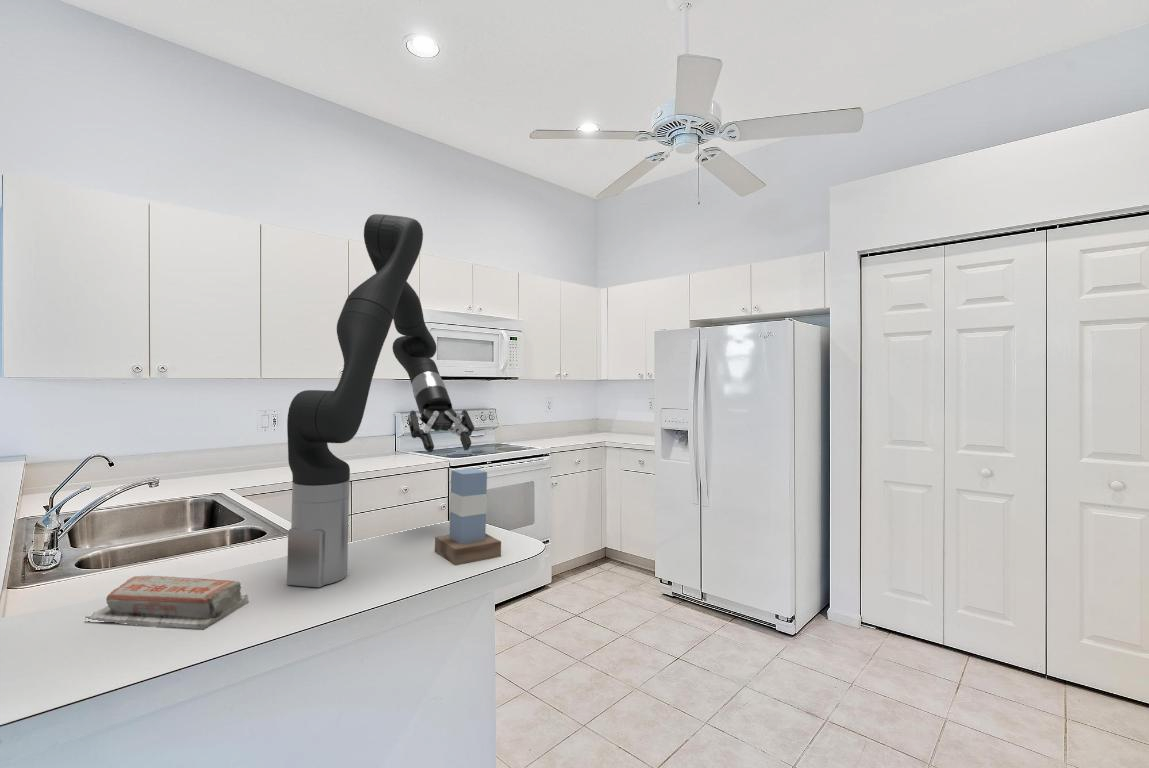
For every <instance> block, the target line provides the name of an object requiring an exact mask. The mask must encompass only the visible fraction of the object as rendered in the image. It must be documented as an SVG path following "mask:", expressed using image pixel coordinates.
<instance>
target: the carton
mask: <svg viewBox="0 0 1149 768" xmlns="http://www.w3.org/2000/svg"><path fill="white" fill-rule="evenodd" d="M487 485H488V472H487V471H486V470H481V469H478V468H476V467H475V468H473V467H471V468H462V469H461V468H460V469H452V470H450V494H449V511H450V512H449V533H448V535H449V538H451V539H453V540H454V541H456V542H458V543H460V544H466V543H471V542H477V541H483V540H485V533H486V531H487V530H486V525H487V524H486V523H487V505H488V504H487V503H488V502H487V501H488V500H487V499H488V494H487V491H488V486H487Z"/></svg>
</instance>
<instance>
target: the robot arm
mask: <svg viewBox="0 0 1149 768" xmlns="http://www.w3.org/2000/svg"><path fill="white" fill-rule="evenodd" d="M363 239H364V245H365V248H366V251H367V254H368V256H369V259H370V261H371V264H372V266H373V268H374V270H375V273H374V274H373V275H372V276H370V277H369V278H367V279H366V280H365V281H363V282H362V283H361V284H359V285H358V286H356V287H355V288H354V289H353V290H352V291H351V292H350V294H349V295H348V296H347V297H346V300H345V302H344V304H343V306H342V309H341V312H340V315H339V316H338V320H337V323H336V335H337V341H338V343H339V347H340V350H341V354H342V357H343V358H342V359H343V367H342V368H343V370H342V372H341V376H340V379H339V381H338V384H337V386H336V388H335V389H334V390H324V389H323V390H322V389H321V390H320V389H319V390H317V389H314V390H313V389H307V390H306V389H305V390H302V391H299V392H298V393H296V395H295V396H293V398H292V400H291V402H290V405H289V407H288V412H287V420H286V427H287V429H286V430H287V431H286V432H287V460H288V466H289V469H290V471H291V474H292V475H291V476H292V482H291V483H292V487H291V489H292V490H291V518H290V522H291V524H290V525H291V526H290V527H291V528H289V529H288V531H287V557H286V558H287V560H286V561H287V562H286V564H287V567H286V568H287V569H286V585H287V586H288V585H289V586H299V587H309V588H322V587H323V586H326V585H329V584H333V583H336V582H339V581H341V580H343V579H345V578H346V577H347V575H348V562H349V560H348V559H349V557H348V556H349V515H350V514H349V513H350V511H349V510H350V506H349V505H350V477H351V476H350V475H351V470H350V469H351V468H350V465H349V464H348V463H347V461H344V460H342V459H341V458H339V457H337V456H336V455H335V454H333V452H332V451H331V450H330V449H329V445H328V444H346V443H349V442H350V441H351V440H353V438H354V437H355V436H356V435H357V433H358V431H359V429H360V427H361V423H362V421H363V418H364V415H365V409H366V406H367V402H368V397H369V393H370V388H371V385H372V381H373V377H374V374H375V370H376V366H377V364H378V360H379V358H380V355H381V352H382V349H383V348H384V347H383V346H384V343H385V342H386V340H387V339H386V338H387V336H388V334H389V331H390V328H391V326H392V322H393V324H394V327H395V329H396V331H397V333H398V334H400V335H402V336H398V337H397V338H396V339H395V340H394V341H393V343H392V353H393V356H394V357H395V359H396V360H397V362H399V364H400V365H401V366H402V367H403V369H404V370H405V372H406V373H407V375H408V378H409V380H410V384H411V387H412V388H411V389H412V393H413V398H414V400H415V403H416V407H417V409H418V413H417V411H415V410H411V411H410V413H409V415H408V416H407V421H408V427H409V431H410V436H411V437H412V439H416V438H419V439H420V440H421V441H422V444H423V448H424V449H425V450H426V452H427V453H433V450H434V449H435V445H434V441H433V439H432V436H431V433H430V432H431V431H432V430H433V431H435V432H439V431H448V432H449V433H452V434H455V435H457V436H458V437H459V439H460V443H461V446H462V448H463V451H468V450H469V449H470V447H471V445H472V440H471V437H470V436H472V433H473V431H474V430H475V425H474V424H473V422H472V419H471V417H470V415H469V412H468V411H467V409H462V411H461V412H456V411H455V410H454V409H453V404H452V402H451V399H450V396H449V393H448V390H447V388H446V385H445V382H444V381H443V379H442V377H441V375H440V372H439V369H438V366H437V364H436V362H435V360H433V359H432V358H433V357H434V356H435V355H436V352H437V347H438V346H437V343H436V341H435V338H434V337H433V335H432V334H431V332H430V330H429V329H428V327H427V325H426V322H425V317H424V312H423V308H422V303H421V300H420V297H419V295H418V293H417V292H416V291H415V290H414V288H413V287H412V286H411V284H410V283H409V282H408V279H409V278H410V275H411V273H412V271H413V269H414V267H415V265H416V262H417V260H418V258H419V256H420V252H421V249H422V246H423V240H424V233H423V227H422V224H421V223H420V222H419V221H418V220H416V219H415V218H411V217H408V216H402V215H400V216H399V215H392V214H382V213H381V214H380V213H377V214H376V213H374V214H371V215H369V217H368V218H367V219H366V221H365V223H364V229H363ZM419 421H421V422H422V423H423V424H425V427H424V428H423V429H421V427H420V423H419ZM453 424H454V426H453Z"/></svg>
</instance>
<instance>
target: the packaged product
mask: <svg viewBox="0 0 1149 768" xmlns="http://www.w3.org/2000/svg"><path fill="white" fill-rule="evenodd" d="M241 589H242V586H241V582H240V581H235V580H225V579H224V580H223V579H213V578H211V579H210V578H192V577H177V576H161V575H140V576H136V575H135V576H132V577H130V578H129V579H127V580H126V581H125V582H124V583H122V584H120V585H119V587H117V588H115V589H113V590H112V591H110V593H109V594H108V595H107V596H106V598H105V599H106V600H105V601H106V604H107V606H105V607H103V608H102V609H99V610H97V611H94V612H93V613H92V614H91V615H89V616H88V615H87V616H85V618H84V619H86V618H88V619H92V620H98V621H104V622H115V623H114V624H116V622H117V623H127V624H137V625H136V626H139V625H144V626H143V627H150V626H156V627H155V628H172V627H175V629H176V628H177V629H193V630H205V629H207V628H209V627H211V626H212V625H214V624H215V623H217V622H219V621H220V620H222V619H224V618H225V617H227V616H228V615H230V614H232V613H234V612H235V611H237V610H238V609H241V608H242V607H243V606H245V605H247V604H248V603H250V602H249V596H248V595H249V594H242V593H241Z"/></svg>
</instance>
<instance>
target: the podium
mask: <svg viewBox="0 0 1149 768" xmlns="http://www.w3.org/2000/svg"><path fill="white" fill-rule="evenodd" d="M434 552H435V553H437V554H438V555H440V556H441V557H443V558H444V559H446V560H447V561H449V562H450V563H452V564H453V565H455V566H457V565H456V564H458V565H462V564H461V563H463V564H467V562H468V563H472V561H473V562H478V561H483V560H489V559H493V558H492V557H494V558H497V557H496V556H499V557H501V556H502V555H501V554H502V541H501V540H499V539H497V538H495V537H494V536H491V535H489V534H487V533H486V532H485V540H483V541H477V542H471V543H466V544H460V543H458V542H456V541H454V540H453V539H451V538H449V534H445V535H439V536H438V535H437V536H434ZM488 558H489V559H488Z"/></svg>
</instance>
